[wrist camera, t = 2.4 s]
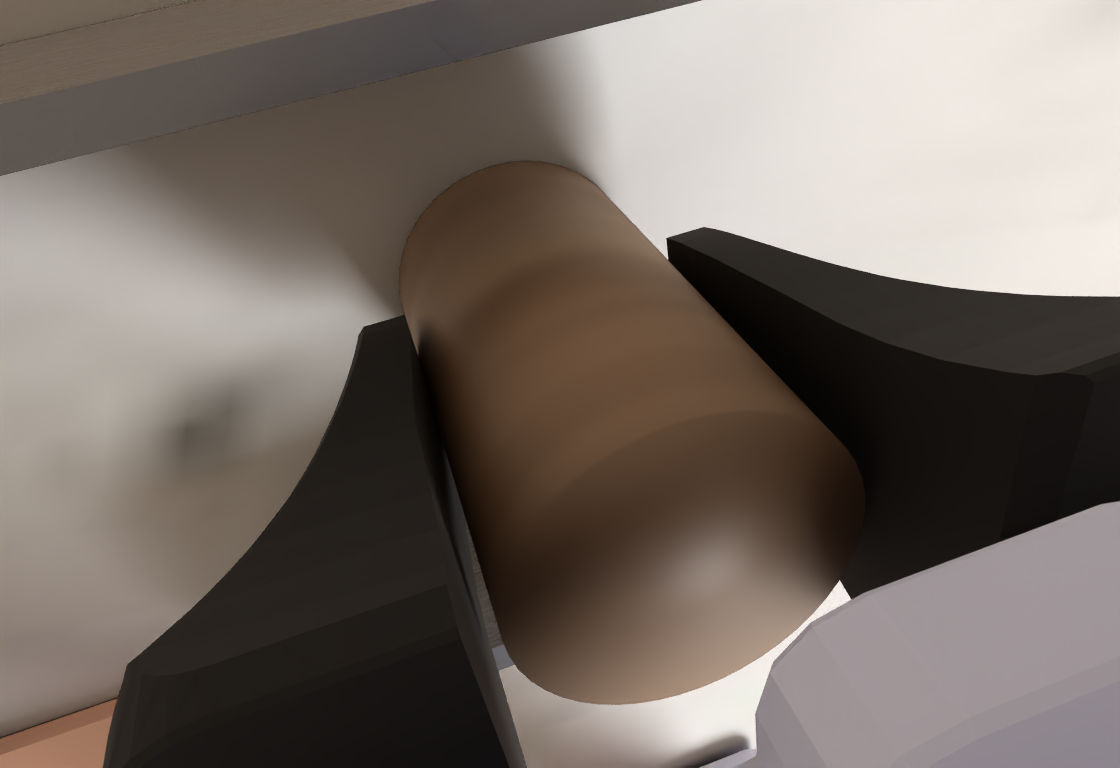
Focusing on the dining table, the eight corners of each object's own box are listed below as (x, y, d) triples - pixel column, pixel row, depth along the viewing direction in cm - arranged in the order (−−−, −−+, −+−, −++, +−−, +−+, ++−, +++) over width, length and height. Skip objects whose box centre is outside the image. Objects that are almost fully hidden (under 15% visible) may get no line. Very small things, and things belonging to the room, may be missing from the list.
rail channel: (705, 512, 19) (783, 632, 16) (-160, 813, 16) (-249, 1021, 13) (655, -105, 11) (784, -84, 9) (-926, 257, 9) (-1479, 457, 6)
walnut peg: (640, 340, 15) (855, 629, 10) (433, 405, 15) (537, 749, 9) (614, 132, 13) (877, 356, 8) (367, 199, 12) (455, 495, 7)
